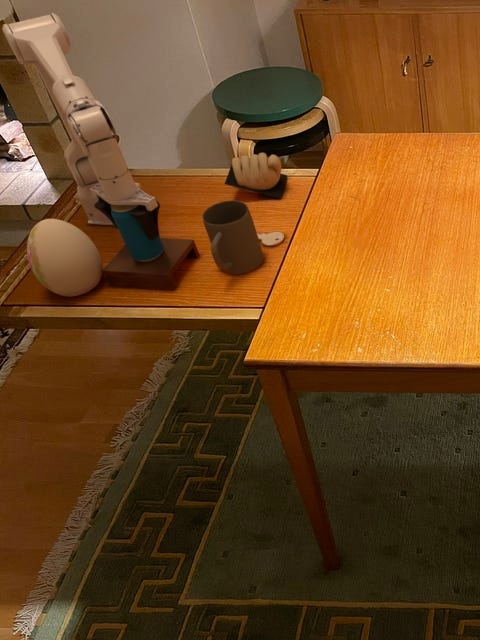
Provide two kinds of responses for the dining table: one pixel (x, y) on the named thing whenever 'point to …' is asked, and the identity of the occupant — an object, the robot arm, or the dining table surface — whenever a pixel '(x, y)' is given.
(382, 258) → the dining table surface
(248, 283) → the dining table surface
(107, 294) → the dining table surface
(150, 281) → the shelf
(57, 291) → the decorative egg
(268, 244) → the key
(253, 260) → the mug
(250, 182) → the decorative object
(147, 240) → the beverage can
